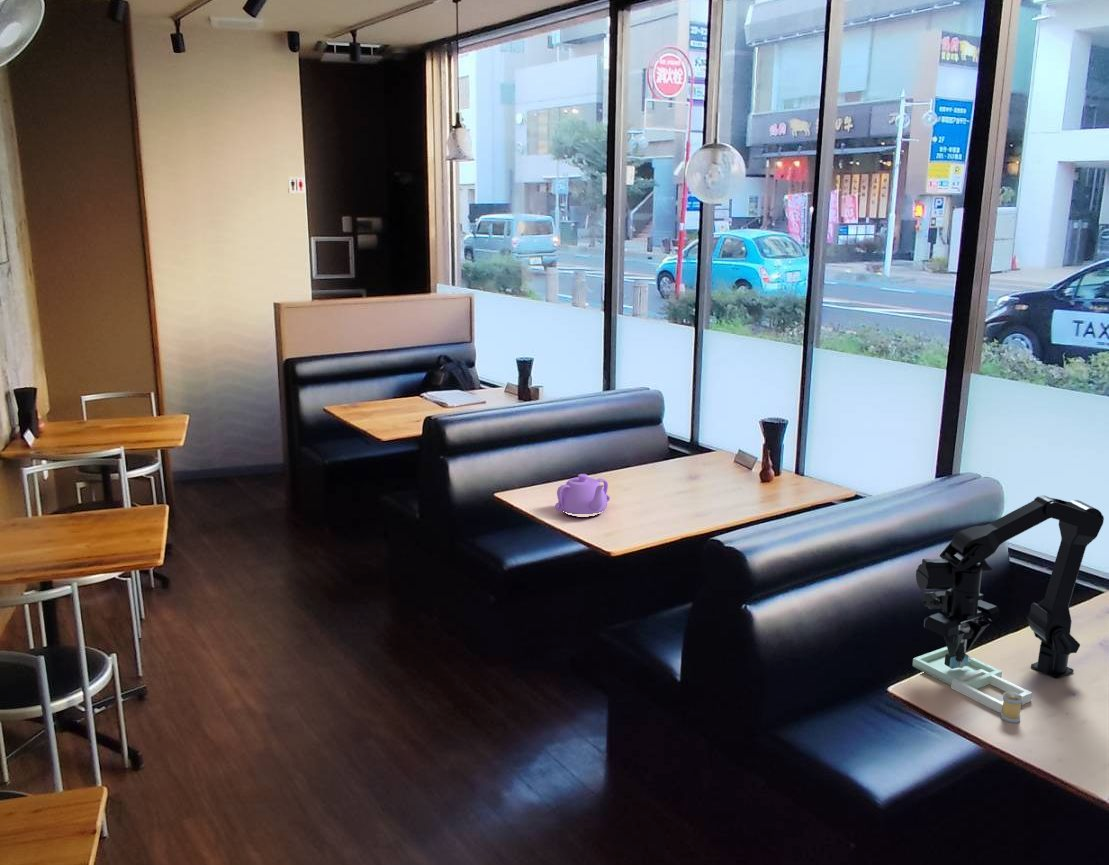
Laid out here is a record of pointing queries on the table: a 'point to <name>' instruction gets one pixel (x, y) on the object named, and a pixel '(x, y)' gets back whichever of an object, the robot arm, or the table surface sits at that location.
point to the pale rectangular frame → (984, 697)
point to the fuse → (1011, 707)
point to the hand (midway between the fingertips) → (958, 652)
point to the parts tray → (954, 669)
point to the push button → (960, 650)
